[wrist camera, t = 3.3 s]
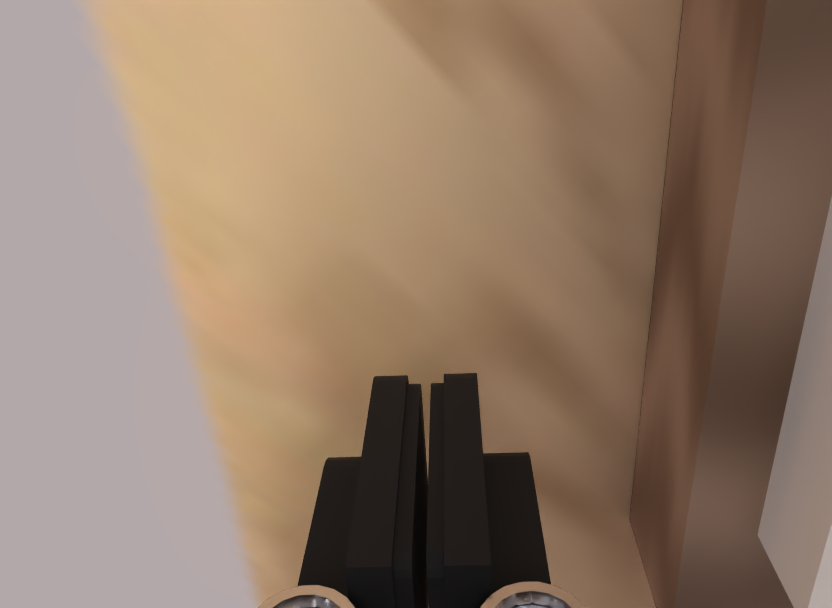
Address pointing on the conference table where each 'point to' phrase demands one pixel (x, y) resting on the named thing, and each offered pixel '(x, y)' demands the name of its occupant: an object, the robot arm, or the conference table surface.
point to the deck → (730, 292)
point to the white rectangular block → (806, 457)
